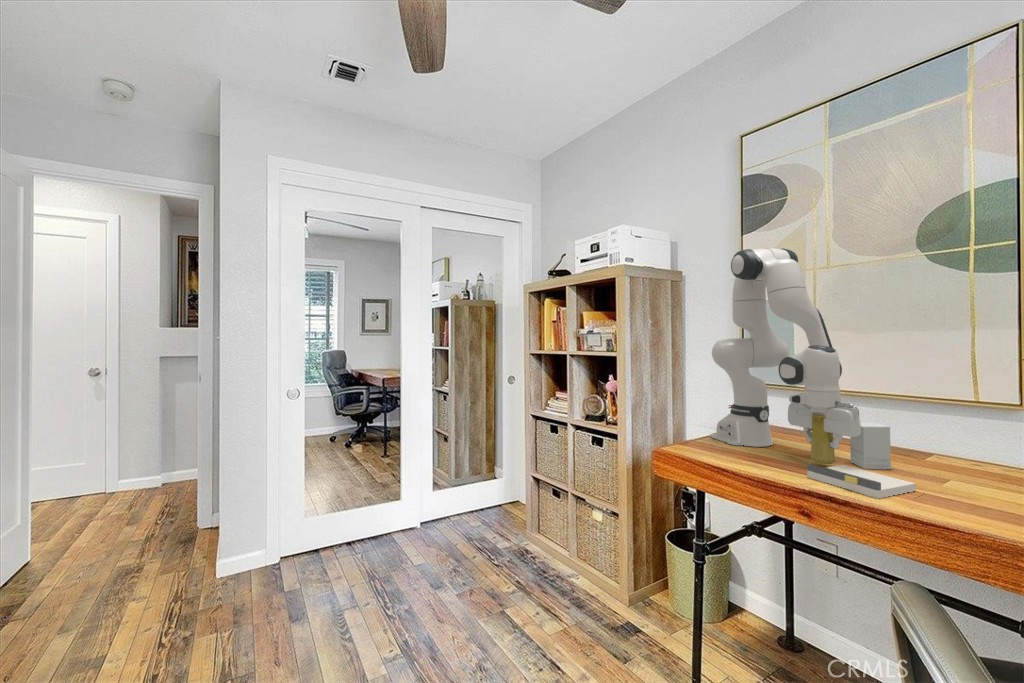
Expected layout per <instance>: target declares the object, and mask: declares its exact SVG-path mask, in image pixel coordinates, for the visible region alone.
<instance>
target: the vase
mask: <svg viewBox="0 0 1024 683" xmlns="http://www.w3.org/2000/svg"><path fill="white" fill-rule="evenodd" d="M824 419H826V416H823V415H815V414H813V413H812V431H811V432H812V443H810V445H811V448H810V449H811V450H810V460H811V461H812V462H814V463H816V464H817V463H818V464H825V465H832V464H835V463H836V458H835V456H836V455H835V449H834V448H830V447H829V446H830V444H829V442H832V441H833V440H834V438H835V437H833V433H829V432H825V431H824Z"/></svg>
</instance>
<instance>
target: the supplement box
mask: <svg viewBox="0 0 1024 683" xmlns="http://www.w3.org/2000/svg"><path fill="white" fill-rule="evenodd" d="M860 425H861V434H860V435H859V436H856V437H849V438H850V439H849V440H850V442H849V444H850V446H849V447H850V463H851V464H853V463H854V465H856V466H858V467H860V468H861V469H863V470H866V469H867V470H886V469H890V470H892V454H891V426H889V425H888V426H887V425H886V424H885V425H884V424H881V423H878V422H860Z"/></svg>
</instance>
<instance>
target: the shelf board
mask: <svg viewBox="0 0 1024 683" xmlns="http://www.w3.org/2000/svg"><path fill="white" fill-rule="evenodd" d="M806 466H807V467H806V468H807V470H806V471H807V474H806V475H807V478H808V479H811V478H812V479H811V480H814V479H815V480H814V481H817V480H818V482H820V483H824V482H825V483H824V484H827V483H829V484H828V485H831V484H832V485H831V486H834V485H835V486H834V487H837V486H838V488H840V487H842V488H841V489H844V488H846V489H845V490H847V489H849V490H848V491H850V490H852V491H851V492H854V491H855V492H854V493H857V492H859V493H858V494H860V493H861V494H860V495H863V494H864V495H863V496H866V497H870V496H871V498H873V499H877V500H879V498H880V499H884V497H885V498H889V497H888V496H890V497H894V496H893V495H895V496H898V494H900V495H904V494H903V493H905V494H908V493H907V492H910V493H914V492H913V491H915V492H916V491H917V487H916V485H917V484H916V483H915V482H911V481H907V480H902V479H899V478H896V477H891V476H888V475H884V474H881V473H876V472H873V471H868V470H866V469H862V468H857V467H852V466H849V465H845V464H841V465H840V464H839V465H834V466H826V467H825V466H822V465H816V464H813V463H807V465H806Z"/></svg>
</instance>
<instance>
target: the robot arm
mask: <svg viewBox="0 0 1024 683" xmlns="http://www.w3.org/2000/svg"><path fill="white" fill-rule="evenodd" d="M730 270H731V272H732V275H733V276H734V282H733V288H732V296H731V297H732V322H733V323H734V324H735V325H736V326H738V327H739V328H741V329H744V330H746V331H747V332H748V333H749V335H750V337H748V338H747V337H742V338H738V337H737V338H727V339H721V340H718V341H716V342H715V343H714V345H713V346H712V349H711V350H712V351H711V357H712V359H713V361H714V362H715V364H716V365H717V366H718V367H720V368H721V369H723V370H724V371H725V372H726V374H727V375H728V376H729V379H730V381H731V384H732V390H733V404H730V405H728V406H727V407H728V409H730V413H728V414H727V415H726V416H725V417H723V418H721V419H720V420H719V421H718V422H717V424H716V429H715V430H716V432H713V433H710V434H709V437H710V438H712V439H715V440H718V441H720V442H723V443H725V442H726V443H725V444H728V445H730V444H731V446H743V445H744V447H745V446H746V447H754V448H755V447H757V448H758V447H759V448H760V447H761V448H762V447H771V446H774V442H773V438H772V435H771V428H770V423H769V416H770V406H769V405H768V385H767V384H766V383H765V381H764V380H762V379H760V378H758V377H756V376H754V375H752V374H751V373H750V368H754V369H755V368H774V367H778V374H779V378H780V379H781V381H783V382H784V383H785V384H786V385H789V386H804V392H802V393H798V394H794V395H793V394H792V395H790V396H789V397H788V401H789V404H788V406H787V407H788V408H787V422H788V423H789V425H791V426H796V427H802V429H803V431H802V432H804V434H805V436H806V441H807V443H809V444H811V443H812V413H813V414H815V415H823V416H826V419H824V431H825V432H829V433H833V437H834V440H833V441H832V442H829V444H830V446H829V447H830V448H834V450H836V449H839V446H840V445H839V444H840V442H841V440H842V439H843V437H848V438H850V437H856V436H859V435H860V434H861V425H860V423H861V420H860V409H859V408H858V407H857V406H855V405H854V404H853V403H846V402H843V401H842V402H841V388H840V385H839V381H840V379H841V376H842V373H843V367H842V364H841V361H840V357H839V354H838V352H837V349H836V348H834V347H833V345H832V342H831V339H830V336H829V332H828V330H827V327H826V324H825V321H824V319H823V316H822V314H821V312H820V310H819V309H818V308H817V307H815V305H814V304H813V303H812V301H811V298H810V297H809V295H808V292H807V285H806V281H805V277H804V274H803V271H802V269H801V266H800V264H799V258H798V256H797V254H796V252H795V251H793V250H791V249H787V248H773V247H764V248H754V249H750V248H747V249H743V250H739V251H737V252H735V254H734V255H733V257H732V259H731V262H730ZM767 301H768V307H769V308H770V310H771V312H772V313H773V314H774V315H775V316H777V317H779V318H780V319H782V320H785V321H787V322H790V323H793V324H795V325H797V326H799V328H801V329H802V330H803V331H804V333H805V335H806V338H807V343H808V346H807V347H806V348H805V349H804V350H802V351H801V352H799V353H798V352H797V353H796V354H793V355H790V348H789V346H788V344H787V343H786V342H785V341H784V340H783V339H781V338H780V337H779V336H777V335H776V333H775V332H774V331H773V330H772V328H771V326H770V324H769V321H768V315H767ZM770 445H771V446H770Z"/></svg>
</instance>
